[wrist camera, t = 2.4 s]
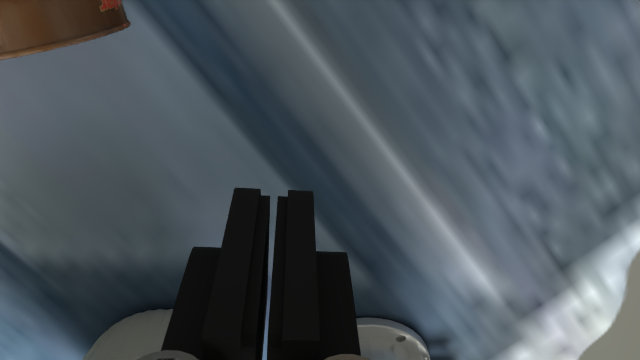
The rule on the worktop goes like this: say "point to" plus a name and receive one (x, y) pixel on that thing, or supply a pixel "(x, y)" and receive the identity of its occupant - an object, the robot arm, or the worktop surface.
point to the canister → (132, 337)
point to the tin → (55, 24)
